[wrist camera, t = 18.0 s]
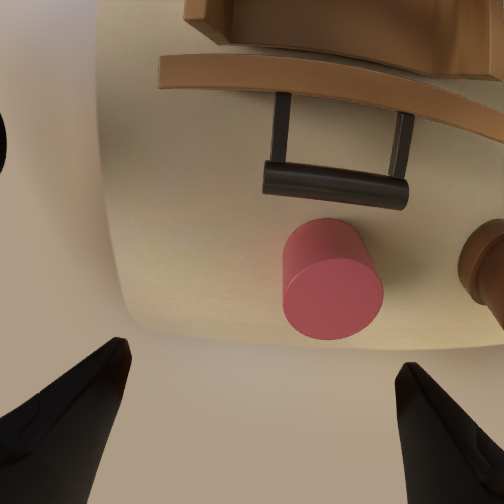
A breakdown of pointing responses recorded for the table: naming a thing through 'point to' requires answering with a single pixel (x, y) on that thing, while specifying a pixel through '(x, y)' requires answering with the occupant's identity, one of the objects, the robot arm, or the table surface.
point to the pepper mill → (485, 267)
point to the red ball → (329, 281)
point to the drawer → (349, 75)
